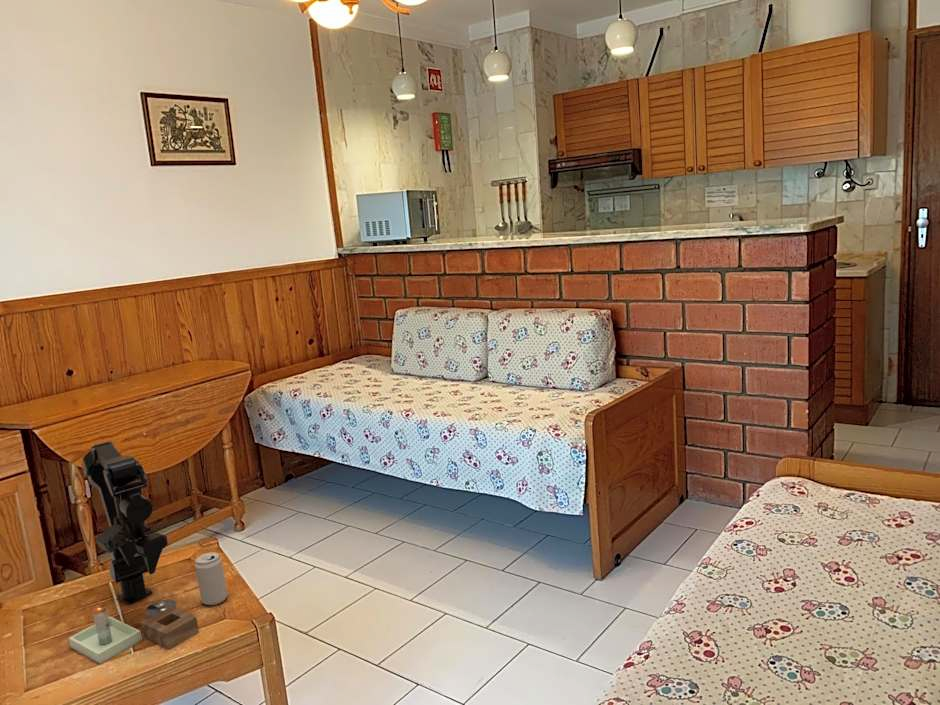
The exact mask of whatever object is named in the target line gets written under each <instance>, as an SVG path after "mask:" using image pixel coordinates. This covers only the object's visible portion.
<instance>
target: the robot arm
mask: <svg viewBox="0 0 940 705" xmlns="http://www.w3.org/2000/svg"><path fill="white" fill-rule="evenodd" d="M82 471H83V474H84V477H86V478H87V480H88V483H89V484H90V485H91V486H93V487H94V488H95V489H97V491H98V492H99V496H100V498H101V502H102V506H103V509H104V512H105V516H106V518H107V523H108V527H107V528H105V529H104V531H103V532H101V533H100V534H99V535H98V536H97V537H95V542H96V543H97V545H98V546H99V548H100V549H101V550H102V551H105V552H107V553H109V554H110V558H111V560H110V562H109V563H110V564H109V573H110V577H111V580H113V582H114V583H115V584H118V583H119V586H120V587H119V588H120V591H121V594H119V595H117V596H116V599H117V600H118V601H121V602H123V603H125V604H128V605H131V604H134V603H136V602H138V601H140V600H141V599H143V598H145V597H147V596H149V595H152V593H153V591H152V590H150V589H148V588H146V584H145V578H144V574H145V573H149V575H150V576H152V575H153V574H155V573H156V569H157V567H158V563H159V560H160V558H161V554H162V552H163V549H165V548H166V547H167V546H168V545H169V539H168V536H166V535H165V534H162V533H159V532H156V531H155V532H153V533H150V534H147V533H149V532H151V531H152V530H151V526H148V525H147V521H146V520H148V519H149V518H150V517H151V516H152V513H153V505H152V503H151V501H149V499H148V498H147V497H146V496H145V495H143V492H142V490H141V489H144V488H145V489H146V488H148V484H147V482H148V477H147V475H146V474H147V473H146V472H145V470H144V467H143V465H142V464H141V463H140V461H139V460H136V458H135V457H134V456H133V457H132V456H131V455H127V456H126V455H125V456H123V455H122V454H121V453H120V452H119V450H118V449H117V448H115V445H114V443H113V442H112V441H104V442H101V443H97V444H94V445H93V446H91V447H90V450H89V451H88V452H87V453H86V454H85V455H84V456H83V457H82Z"/></svg>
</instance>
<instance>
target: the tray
mask: <svg viewBox="0 0 940 705" xmlns="http://www.w3.org/2000/svg"><path fill="white" fill-rule="evenodd" d="M108 621H109V626H110V631H111V635H112V642H111V643H110V644H108V645H104V646H101V645H99V640H98V635H97V631H96V626H95V624H93V625H91V626H89V627H87V628H85V629H83V630H81V631H79V632H78V633H76V634H74V635H71V636H69V637H68V642H69V645H70V646H69V647H70V648H71V649H72V650H74V651H76V652H78V653H80V654H81V655H83V656H85V657H86V658H88V659H90V660H91V661H94V662H96V663H97V664H98V665H102V664H103V663H105V662H107V661H109V660H110V659H112V658H114V657H116V656H117V655H119V654H120V653H123V652H124V651H127V650H128V649H130V648H132V647H133V646H135V645H137V644H138V643H140V642H142V641H143V638H142V633H141V630H140V629H137V628H135V627H133V626H131V625H129V624H127V623H125V622H123V621H121V620H119V619H117V618H114V617H112V616H108Z"/></svg>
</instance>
